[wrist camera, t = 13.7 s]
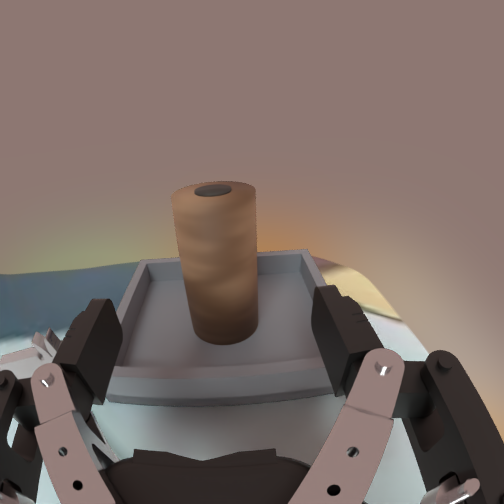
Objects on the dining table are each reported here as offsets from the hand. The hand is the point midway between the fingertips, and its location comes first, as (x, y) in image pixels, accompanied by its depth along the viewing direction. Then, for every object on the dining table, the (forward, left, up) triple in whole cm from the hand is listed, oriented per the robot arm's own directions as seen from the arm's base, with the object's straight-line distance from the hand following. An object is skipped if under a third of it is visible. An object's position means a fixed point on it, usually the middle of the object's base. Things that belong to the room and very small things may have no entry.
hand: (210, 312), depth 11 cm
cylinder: (0, +8, -7) cm, 11 cm away
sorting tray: (0, +8, -8) cm, 12 cm away
